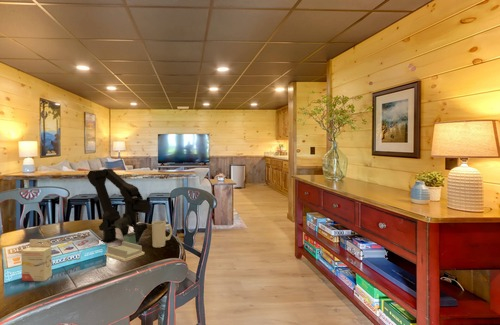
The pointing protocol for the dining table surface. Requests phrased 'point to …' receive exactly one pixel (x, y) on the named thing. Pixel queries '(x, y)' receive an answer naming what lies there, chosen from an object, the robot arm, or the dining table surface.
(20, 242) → the dining table surface
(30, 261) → the ink cartridge box
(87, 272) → the dining table surface
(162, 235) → the mug
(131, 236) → the block
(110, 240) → the robot arm
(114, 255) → the mount board
